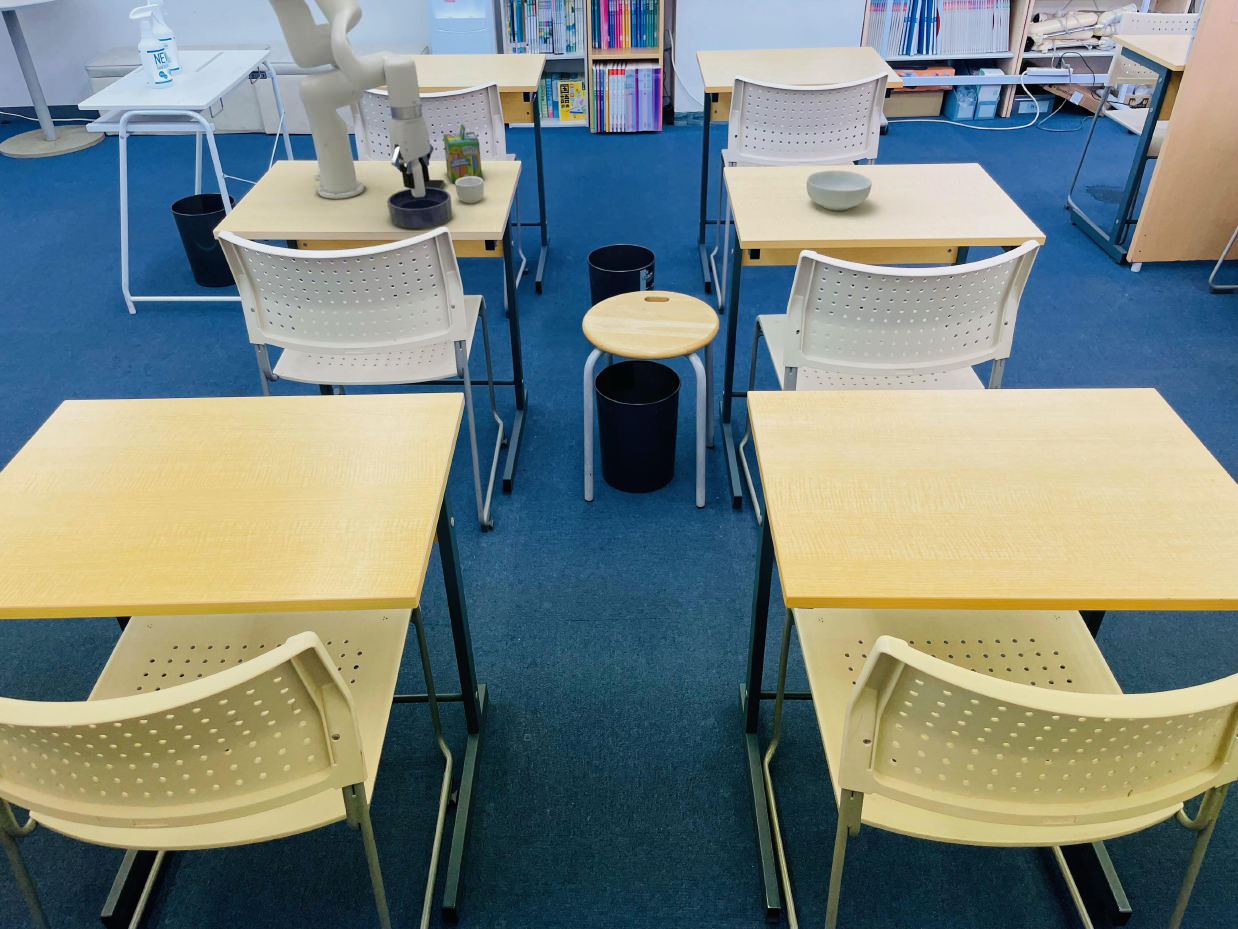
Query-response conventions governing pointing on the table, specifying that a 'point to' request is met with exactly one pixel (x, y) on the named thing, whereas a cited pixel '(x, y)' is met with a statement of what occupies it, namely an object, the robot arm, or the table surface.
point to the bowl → (420, 208)
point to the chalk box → (462, 155)
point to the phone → (435, 184)
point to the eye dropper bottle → (417, 179)
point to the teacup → (469, 189)
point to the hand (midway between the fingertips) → (417, 183)
